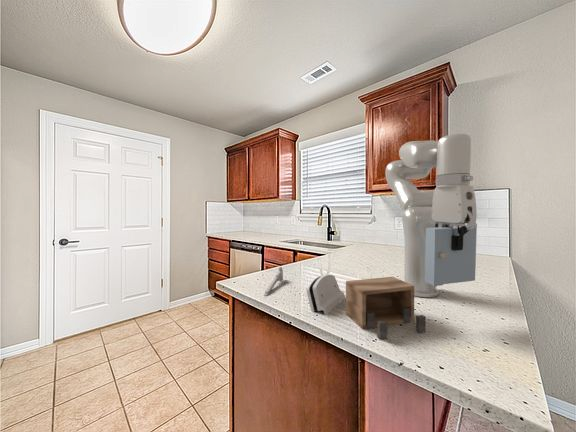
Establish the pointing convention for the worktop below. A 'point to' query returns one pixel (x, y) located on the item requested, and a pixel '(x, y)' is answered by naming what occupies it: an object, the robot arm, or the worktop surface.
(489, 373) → the worktop surface
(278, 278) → the caliper
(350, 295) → the cabinet
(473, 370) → the worktop surface
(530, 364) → the worktop surface
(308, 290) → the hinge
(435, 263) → the door
